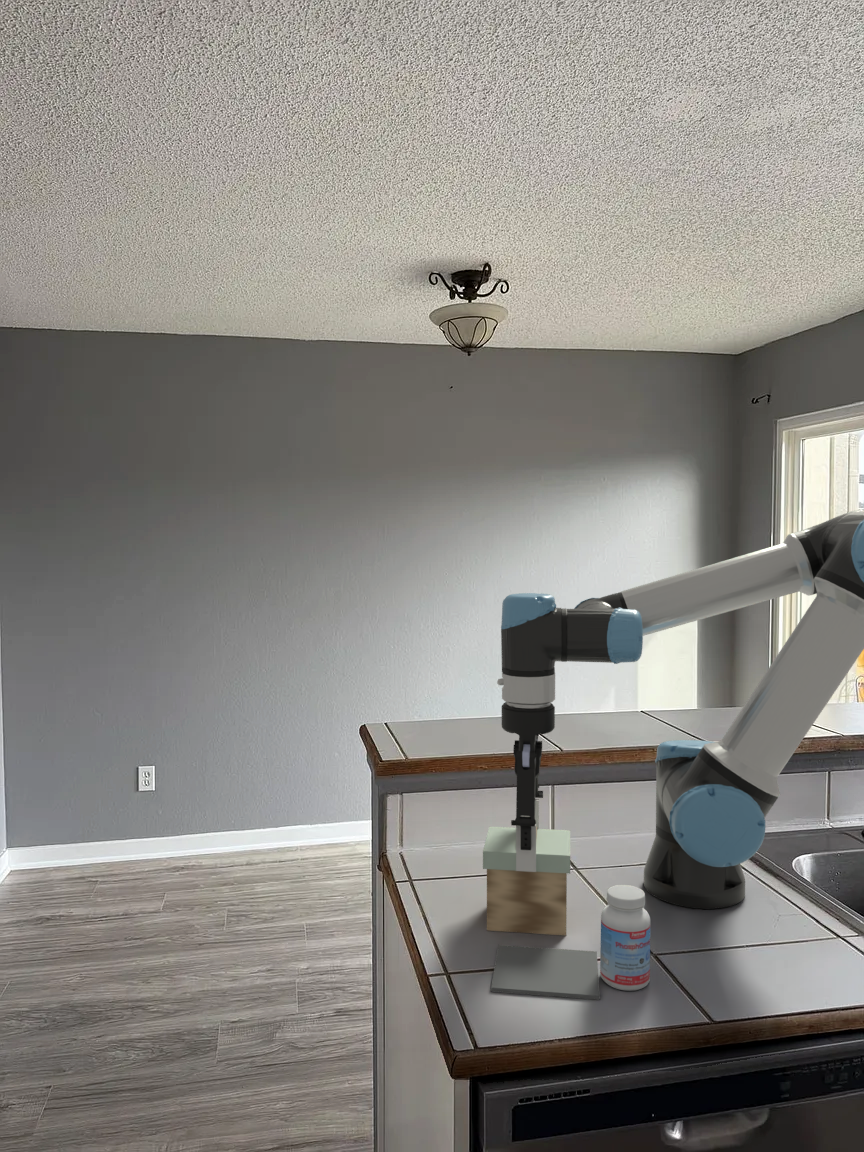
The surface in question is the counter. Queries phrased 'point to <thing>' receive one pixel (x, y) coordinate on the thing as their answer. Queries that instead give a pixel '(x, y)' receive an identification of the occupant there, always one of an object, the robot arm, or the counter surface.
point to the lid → (548, 850)
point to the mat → (546, 972)
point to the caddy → (526, 902)
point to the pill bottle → (625, 939)
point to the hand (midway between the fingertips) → (527, 855)
